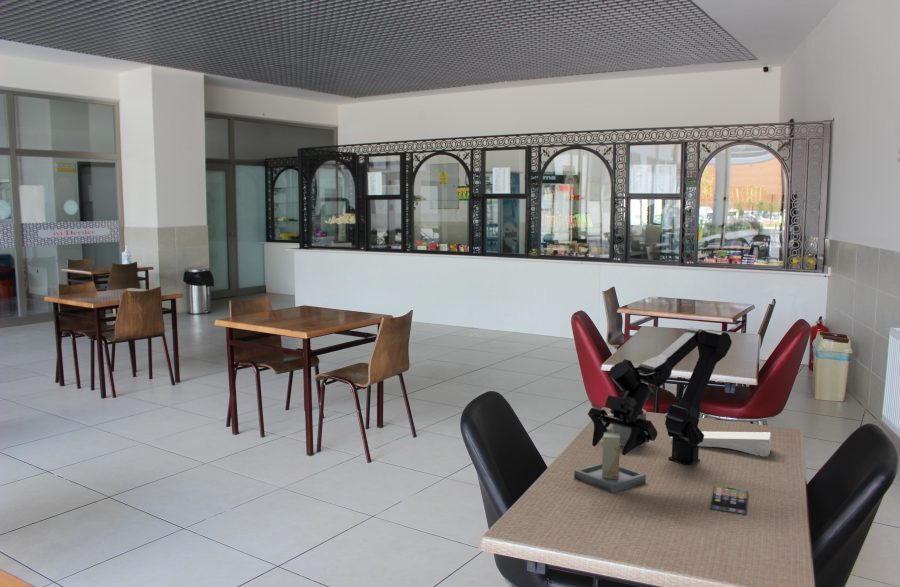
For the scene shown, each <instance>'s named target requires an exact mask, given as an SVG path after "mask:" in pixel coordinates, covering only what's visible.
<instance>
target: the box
mask: <svg viewBox="0 0 900 587" xmlns="http://www.w3.org/2000/svg"><path fill="white" fill-rule="evenodd" d="M602 440H603V441H602V462H601V463H602V478H608V479H619V465H620V453H621V445H620V433H610V432H604V436H603V437H602Z"/></svg>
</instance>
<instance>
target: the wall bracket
mask: <svg viewBox="0 0 900 587" xmlns="http://www.w3.org/2000/svg"><path fill="white" fill-rule="evenodd" d="M700 431H701V430H700ZM701 432H702V433H703V434H704V438H703V441H702V442H701V443H699V444H698V447H709V448H713V447H714V448H722V449H723V448H724V449H730V450H734V451H735V450H736V451H739V452H743V453H747V454H750V455H753V454H754V455H753V456H758V455H760V456H759V457H764V456H766V457H768V456H769V455H770V452H771V448H772V432H769V431H768V432H764V431H757V432H756V431H705V430H704V431H701ZM670 441H673V437H670Z"/></svg>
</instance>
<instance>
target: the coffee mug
mask: <svg viewBox="0 0 900 587" xmlns="http://www.w3.org/2000/svg"><path fill="white" fill-rule="evenodd" d="M642 411H643V415H642V416H641V415H639V416H638V418H637V419H639V418H641V419H645V420H647V410H645V409H644V408H643V409H642ZM607 414H608V416H612V417H613V416H614V415H613V414H612V413H607ZM610 426H611V427H610V428H608V427H607V428H606V429H607V432H610V433H620V444H621V445H625V444H626V442H627V441H628V439H629V437H630V435H631V429H629V428H626V427H622V426H618V425H614V424H611V425H610ZM645 444H646V442H645V443H643V444H641V445H643V446H645ZM621 445H620V446H621ZM641 445H640V446H639V447H642V446H641Z"/></svg>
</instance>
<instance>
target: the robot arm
mask: <svg viewBox="0 0 900 587" xmlns="http://www.w3.org/2000/svg"><path fill="white" fill-rule="evenodd" d="M732 344H733V342H732V339H731V336H730V334H729V333H727V332H725V331H718V330H714V329H706V330H703V329H700V328H695V327H689V328H687V329H686V330H685V331H684V333H683V334H682V335H681V336H679V337H678V338H677V339H676V340H675V341H673V343H672V344H670V345H669V347H667V348H666V349H664V351H662V353H660V354H659V355H656V356H653V357H650V358H648V359H646V360H645V361H643V362H641V363H640V364H639V365H638V366H636V367H635V366H634V365H633V362H632V361H631V360H630V359H627V358H624V359H623V360H622V361H620V362H617V363H615V364H614V365H612V366H611V367H610V370H609V371H608V374H609V377H610V379H612V381H613V382H614V384H616V386H618V387H619V389H620V390H621V391H623V392H625V394H624V396H623V397H622V396H619V397H618V396H613V395H609V394H608V395H607V397H606V400H605V404H604V408H608V409H610V410H609V412H610V414H613V415H614V416H613V417H612V416H608V414H609V413H608V412H607V411H606V410H605V409H604V408H599V407H595V406H594V407H593V406H592V407H591V408H590V409H589V411H588V412H587V415H588V417H589V418H590V420H591V421H592V423H593V433H592V434H593V435H592V441H591V446H593V447H596V446H597V445H598V444H599V442H600V441H601V440H602V439H603V437H604V432H607V429H608V427H610V426H611V425H612V424H614V425H618V426H622V427H626V428H629V429H631V435H630V437H629V439H628V441H627V442H626V444H625V446H623V448H622V451H621V455H622V456H626V455H627V454H629V453H630V452H631V451H633V450H635V449H636V448H638V446H639V447H641V446H640V445H641V444H643V443H645V444H646V443H649V442H650V441H652V442H655V440H656V439H657V437H658V430H657V428H656V427H655V426H654V424H653V422H652V421H651V420H648V419H646V420H645V419H641V418H639V419H637V418H638V416H639V415H641V416H642V415H643V411H642V409H644V407H645V405H646V403H647V400H648V399H653V400H655V398H656V394H655V392H654V388H652V387H649V385H651V386H654V387H655V386H656V387H662V386H663V385H664V384H665V383H666V382H667V381H668V380H669V378H670V377H671V375H672V370H673V369H674V367H676V366H677V365H678V364H679V363H680V362H681V361H682V360H683V359H685V358H686V357H687V356H688V355H689V354H690V353H691V352H692V351H693V350H694V349H696V348H697V351H698V358H697V361H696V363H695V366H694V368H693V370H692V372H691V376H690V378H689V380H688V382H687V385H686V388H685V390H684V392H683V395H682V397H681V400H680V402H678V403H677V404H676V405H674V404H671V405H670V406H669V407H668V408H669V409H668V412H667V413H666V415H665V416H664V418H665V421H664V425H665V428H666V431H667V435H668V437H670V438H671V437H673V440H671V441H672V442H671V444H672V445H671V446H672V447H671V455H670V456H669V457H668V458H667V459H668V460H670V461H673V462H677V463H679V464H682V465H686V466H689V465H692V464H695V463H698V462H700V461H701V459H700V458H699V452H700V451H699V450H700V446H698V444H699V443H701V442H702V441H703V438H704V434H703V433H702V432H701V429H700V428H699V422H700V417H699V407H700V404H701V401H702V399H703V396H704V394H705V392H706V389H707V388H708V385H709V382H710V379H711V378H712V374H713V373H714V370H715V368H716V365H717V363H718V362H720V361H721V360H722V359H724V358H725V357H726V356H727V354H728V352H729V350H730V349H731V346H732ZM606 428H607V429H606Z"/></svg>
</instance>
